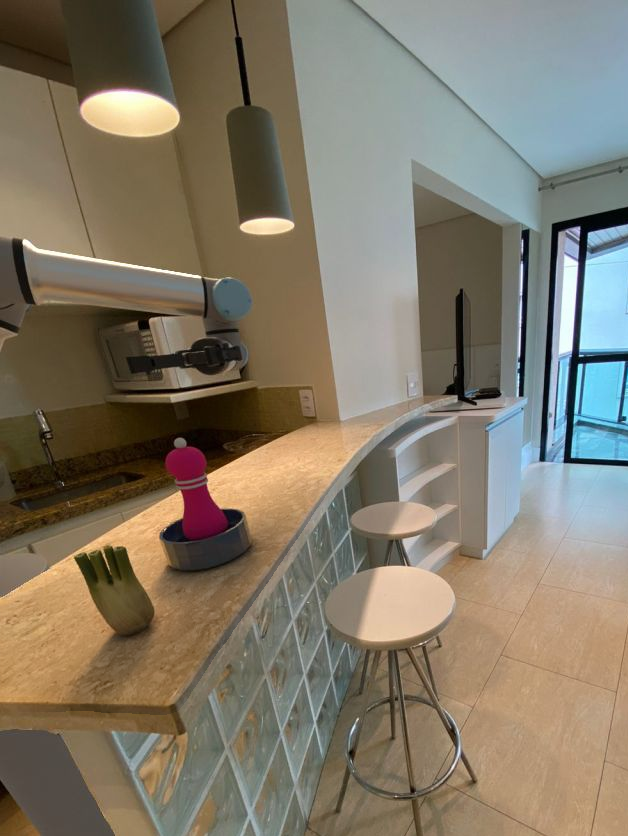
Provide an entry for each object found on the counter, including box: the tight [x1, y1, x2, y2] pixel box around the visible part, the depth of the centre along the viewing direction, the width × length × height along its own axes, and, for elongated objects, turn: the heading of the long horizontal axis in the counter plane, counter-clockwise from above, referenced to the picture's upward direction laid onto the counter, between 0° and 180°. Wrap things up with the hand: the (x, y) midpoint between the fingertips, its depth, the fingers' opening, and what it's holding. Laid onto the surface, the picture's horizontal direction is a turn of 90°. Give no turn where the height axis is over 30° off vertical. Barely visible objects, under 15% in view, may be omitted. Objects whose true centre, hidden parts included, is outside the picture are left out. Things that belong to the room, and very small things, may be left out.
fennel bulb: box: [73, 545, 156, 636], centre depth 52 cm, size 6×5×12 cm
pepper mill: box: [165, 437, 228, 541], centre depth 69 cm, size 7×7×20 cm
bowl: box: [158, 507, 253, 571], centre depth 72 cm, size 14×14×6 cm
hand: (169, 360), depth 70 cm, fingers open, 13 cm apart
